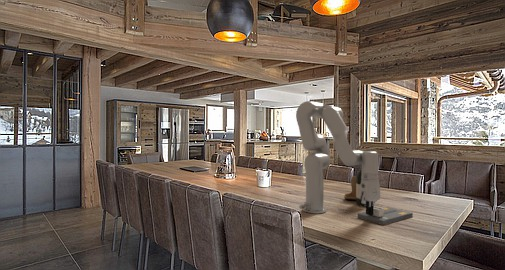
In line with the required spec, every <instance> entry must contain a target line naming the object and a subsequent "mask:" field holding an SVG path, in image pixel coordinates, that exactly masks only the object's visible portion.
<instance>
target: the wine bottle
mask: <svg viewBox="0 0 505 270" xmlns="http://www.w3.org/2000/svg"><path fill="white" fill-rule="evenodd" d="M355 176H356V200H355V204H356V206H360V207H366V206H365V204H363V203H361V201H362V200H361V199H360V185H361V180H362V164H360V170H359V172H358V173H357V175H355Z"/></svg>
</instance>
